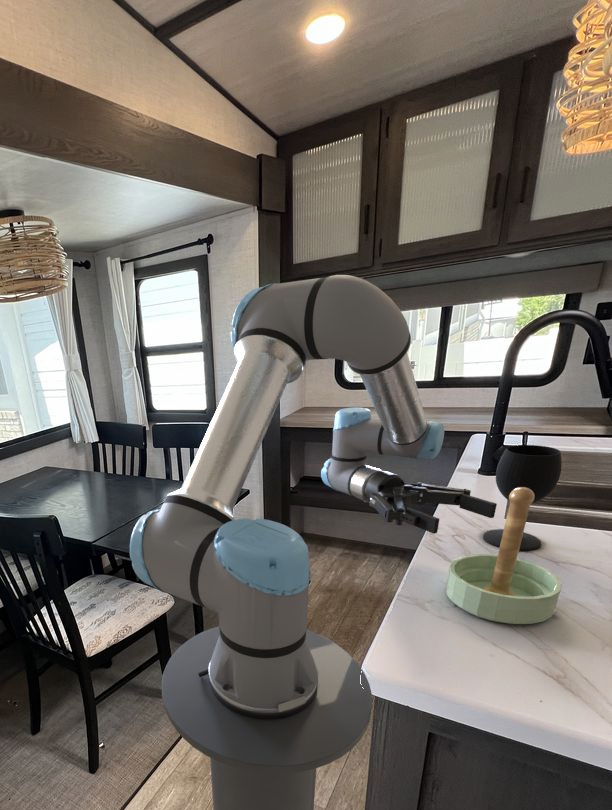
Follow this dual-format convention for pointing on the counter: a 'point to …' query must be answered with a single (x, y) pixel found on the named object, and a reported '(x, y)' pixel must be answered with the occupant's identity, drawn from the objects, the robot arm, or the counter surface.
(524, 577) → the bowl
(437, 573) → the counter surface
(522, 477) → the wine glass
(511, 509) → the wooden pestle
